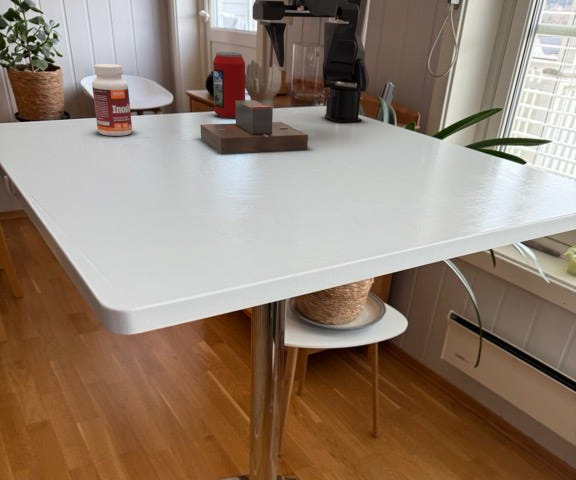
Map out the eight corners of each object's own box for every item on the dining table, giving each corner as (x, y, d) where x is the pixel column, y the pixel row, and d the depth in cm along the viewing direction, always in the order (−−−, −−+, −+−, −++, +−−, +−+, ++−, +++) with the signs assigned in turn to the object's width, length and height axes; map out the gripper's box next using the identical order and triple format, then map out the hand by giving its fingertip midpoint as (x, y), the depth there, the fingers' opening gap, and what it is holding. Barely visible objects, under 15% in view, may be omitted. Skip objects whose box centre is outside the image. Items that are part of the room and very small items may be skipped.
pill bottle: (118, 138, 101) (110, 68, 95) (90, 133, 103) (81, 64, 96) (139, 132, 106) (133, 65, 99) (112, 128, 107) (104, 62, 101)
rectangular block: (235, 124, 103) (235, 98, 100) (254, 124, 104) (254, 98, 102) (252, 134, 96) (253, 107, 94) (272, 133, 97) (273, 106, 95)
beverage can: (215, 112, 127) (213, 51, 120) (245, 114, 127) (245, 52, 120) (213, 118, 121) (211, 53, 114) (244, 119, 122) (244, 55, 115)
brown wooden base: (279, 135, 109) (280, 120, 108) (308, 150, 99) (309, 134, 98) (200, 138, 104) (199, 122, 102) (222, 154, 94) (221, 137, 92)
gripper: (276, -42, 87) (274, 73, 96) (380, -36, 93) (369, 71, 102) (251, -41, 95) (251, 65, 104) (348, -35, 101) (340, 64, 110)
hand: (304, 66), depth 105 cm, fingers open, 9 cm apart
